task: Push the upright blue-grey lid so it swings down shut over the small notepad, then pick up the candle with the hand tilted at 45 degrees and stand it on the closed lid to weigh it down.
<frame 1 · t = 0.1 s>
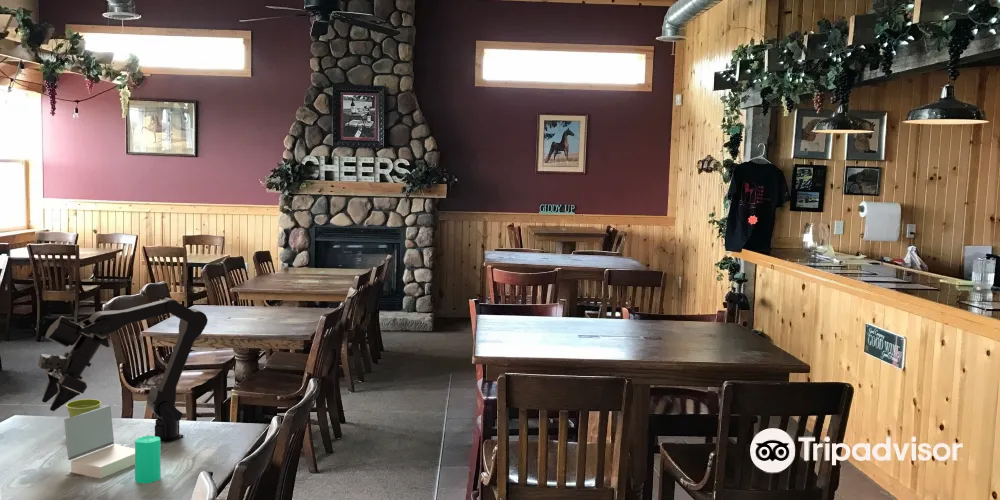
hand: (47, 406, 207), 15 cm above the table, tool tilted 30°, fingers open, 9 cm apart
lid: (90, 432, 206), point 8 cm above the table, hinge at 97.0°
plant pot: (83, 432, 231), on the table
small notepad: (107, 466, 205), on the table
candle: (147, 479, 198), on the table
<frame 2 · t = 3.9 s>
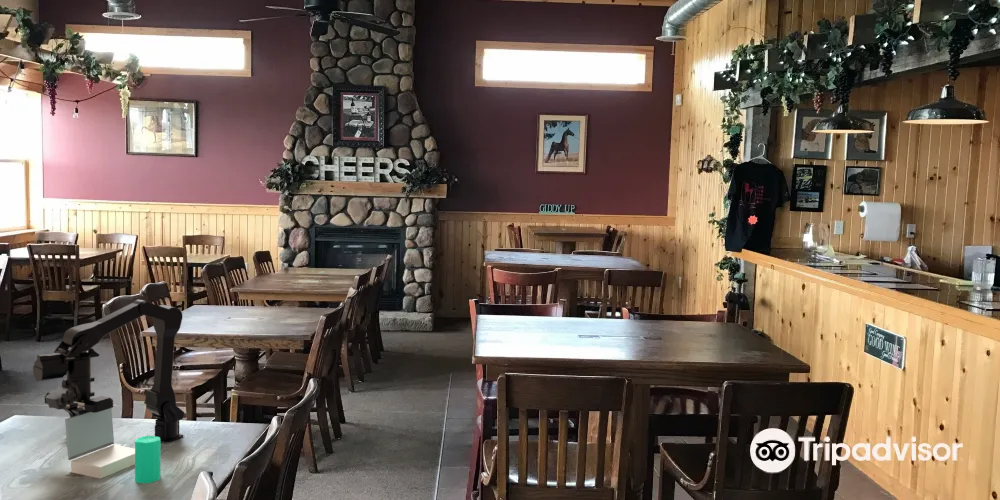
hand: (79, 431, 208), 8 cm above the table, tool pointing down, fingers closed
lid: (90, 432, 206), point 8 cm above the table, hinge at 95.3°, touching gripper
everything else where it was.
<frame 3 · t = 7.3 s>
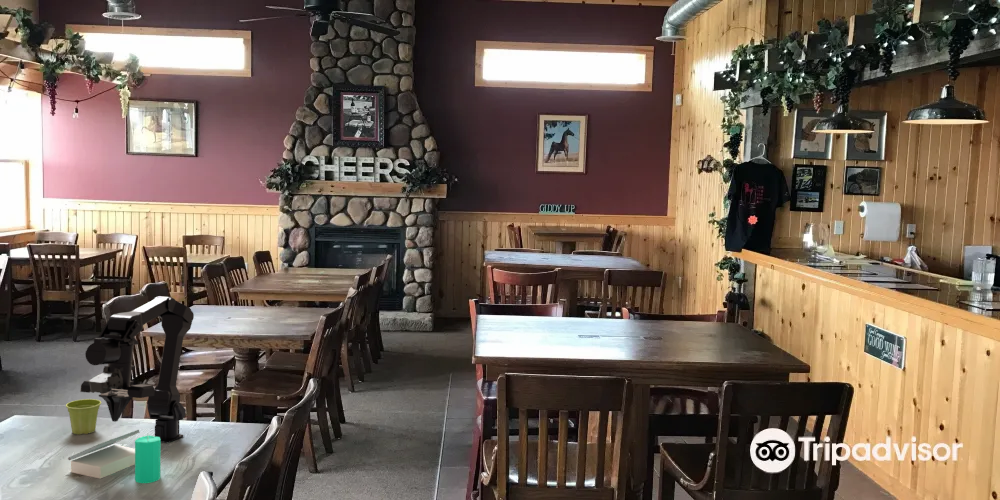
hand: (114, 421, 204), 12 cm above the table, tool pointing down, fingers closed
lid: (104, 444, 205), point 6 cm above the table, hinge at 26.8°
everything else where it was.
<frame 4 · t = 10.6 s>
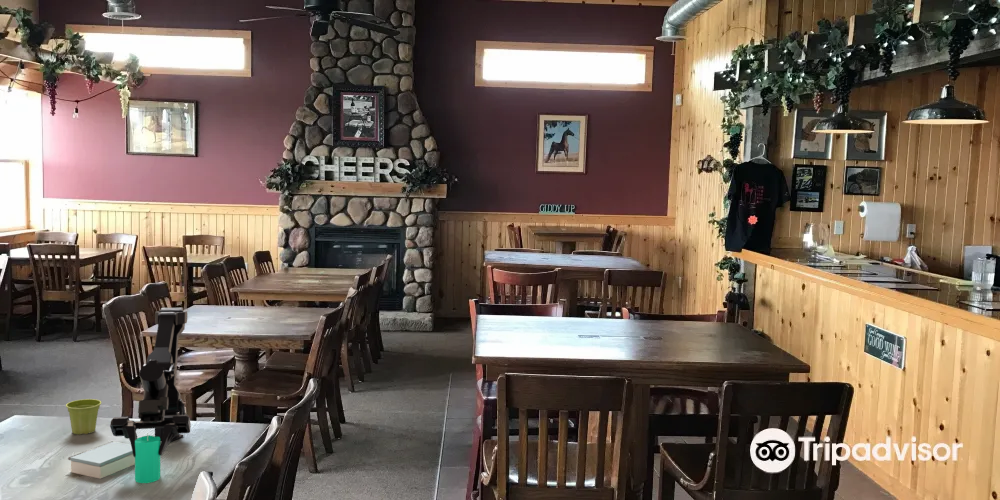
hand: (147, 455, 196), 7 cm above the table, tool tilted 45°, fingers closed on candle, 6 cm apart
lid: (106, 453, 205), point 4 cm above the table, hinge at 0.4°
candle: (147, 479, 198), on the table, touching gripper
everything else where it was.
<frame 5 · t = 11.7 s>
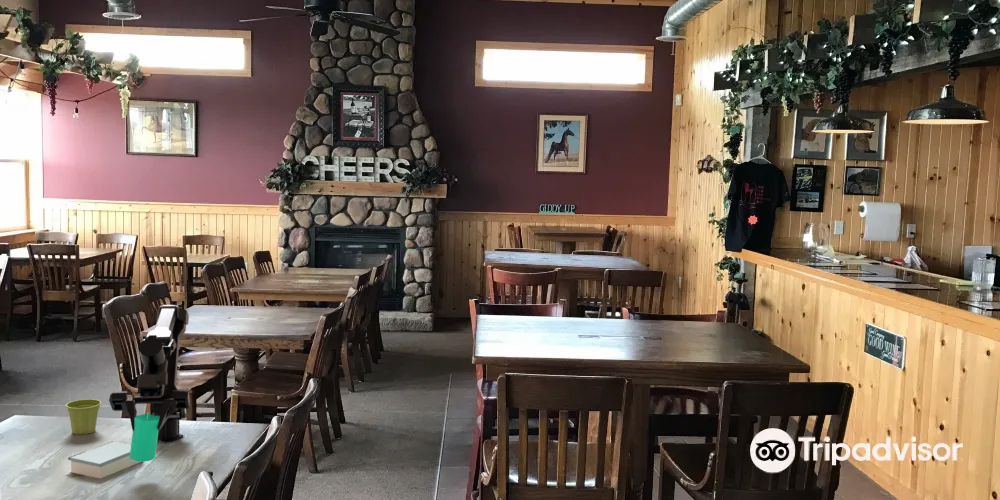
hand: (146, 430, 196), 13 cm above the table, tool tilted 45°, fingers closed on candle, 6 cm apart
lid: (106, 453, 205), point 3 cm above the table, hinge at -0.2°
candle: (142, 457, 197), point 5 cm above the table, touching gripper
everything else where it was.
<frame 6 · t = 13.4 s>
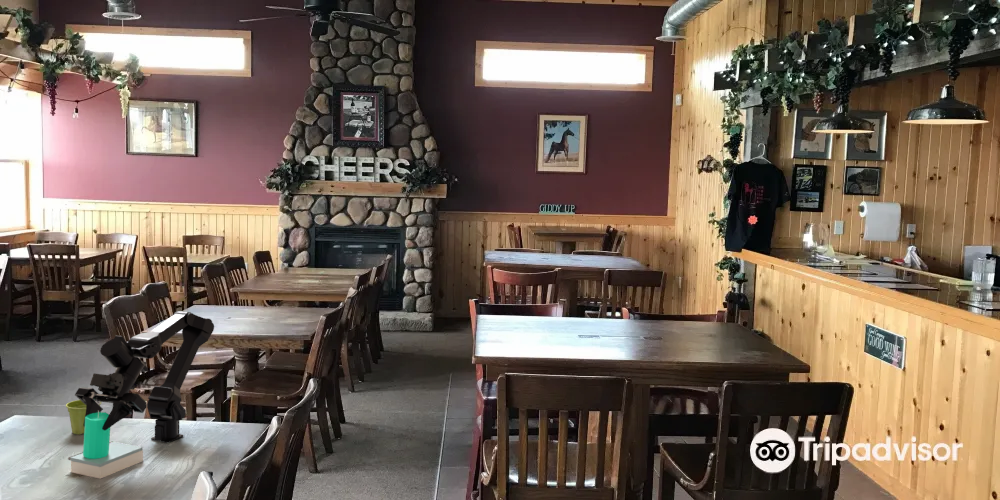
hand: (94, 428, 200), 12 cm above the table, tool tilted 45°, fingers closed on candle, 5 cm apart
lid: (106, 453, 205), point 3 cm above the table, hinge at -0.4°, touching candle
candle: (95, 454, 202), point 4 cm above the table, touching gripper, lid
everything else where it was.
when the fingers open (12 cm above the table, at t = 13.5 s): candle stays where it is, resting on lid.
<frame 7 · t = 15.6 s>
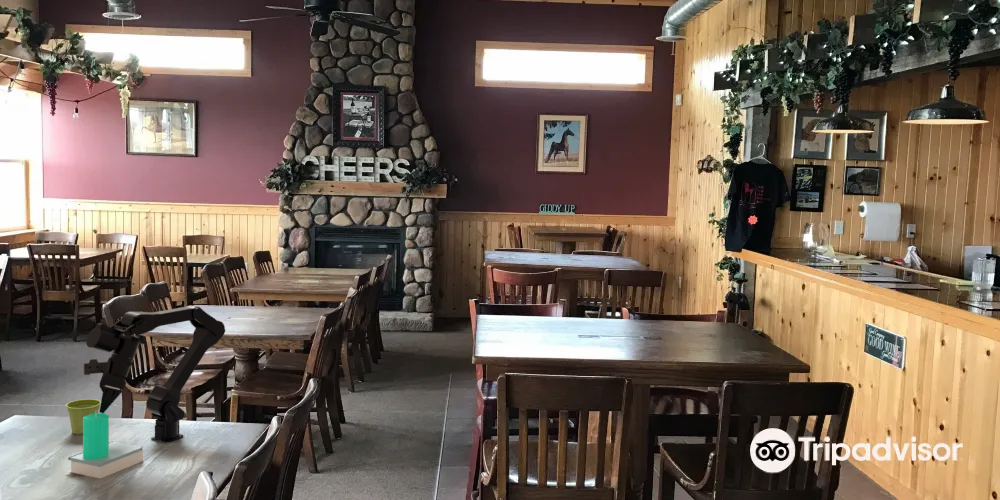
hand: (101, 411, 211), 13 cm above the table, tool tilted 25°, fingers open, 9 cm apart
candle: (95, 455, 202), point 4 cm above the table, touching lid
everything else where it was.
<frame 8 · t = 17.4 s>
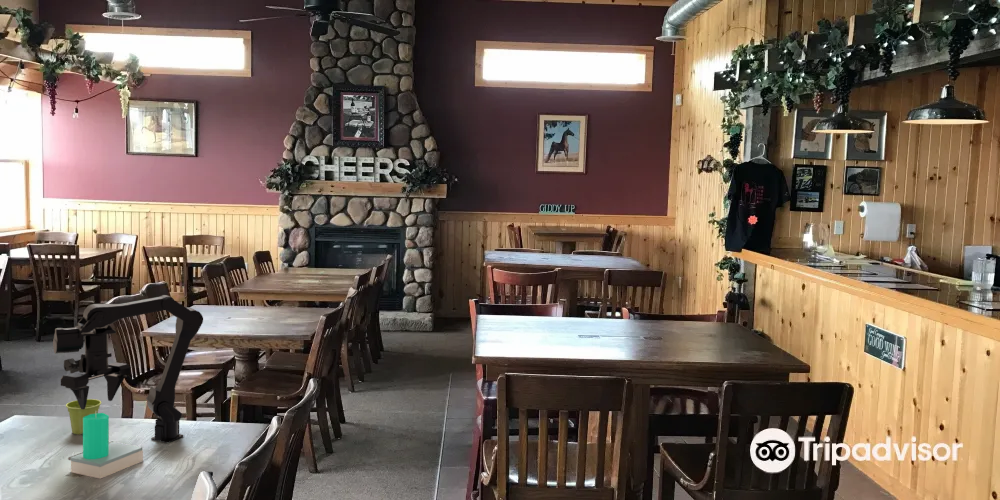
hand: (96, 404, 216), 13 cm above the table, tool pointing down, fingers open, 9 cm apart
nothing on the table moved.
at the end: lid at +0° (first picture: +97°); candle inside the target area (2.7 cm from its centre), point 3.7 cm above the table; candle tilted 0° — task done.
